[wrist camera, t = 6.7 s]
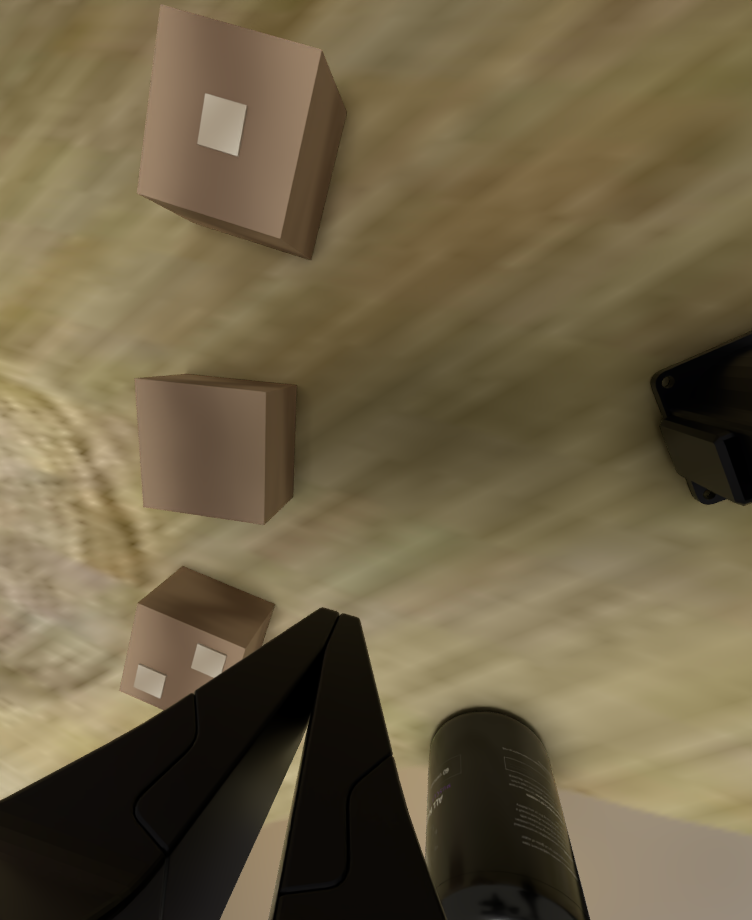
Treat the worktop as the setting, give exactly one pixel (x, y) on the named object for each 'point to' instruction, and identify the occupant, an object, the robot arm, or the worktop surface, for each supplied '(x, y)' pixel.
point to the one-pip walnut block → (240, 131)
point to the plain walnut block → (216, 445)
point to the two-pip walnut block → (190, 636)
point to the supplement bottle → (498, 825)
